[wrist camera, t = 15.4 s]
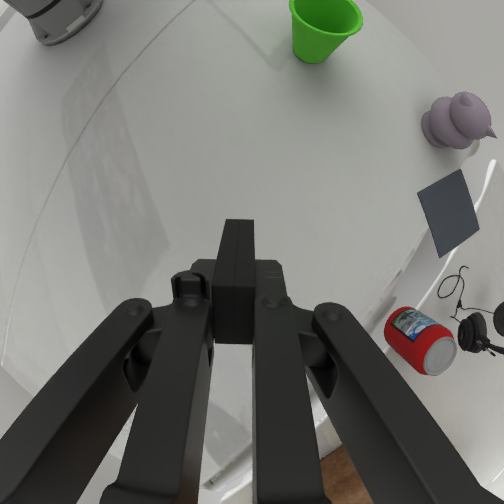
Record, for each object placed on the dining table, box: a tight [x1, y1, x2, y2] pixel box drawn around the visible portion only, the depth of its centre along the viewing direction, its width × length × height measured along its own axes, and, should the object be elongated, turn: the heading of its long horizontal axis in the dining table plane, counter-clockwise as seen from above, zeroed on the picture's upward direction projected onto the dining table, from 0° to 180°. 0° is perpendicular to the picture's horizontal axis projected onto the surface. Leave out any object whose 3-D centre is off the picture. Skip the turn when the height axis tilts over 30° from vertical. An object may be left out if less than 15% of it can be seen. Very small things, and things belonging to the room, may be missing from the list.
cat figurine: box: [422, 92, 497, 149], centre depth 30 cm, size 9×8×12 cm
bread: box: [320, 445, 374, 504], centre depth 37 cm, size 14×34×14 cm, turn 136°
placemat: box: [417, 169, 479, 258], centre depth 38 cm, size 11×11×1 cm
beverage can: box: [384, 307, 457, 376], centre depth 34 cm, size 7×7×12 cm
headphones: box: [438, 266, 504, 356], centre depth 30 cm, size 15×11×20 cm
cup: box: [289, 0, 363, 63], centre depth 29 cm, size 9×9×11 cm
